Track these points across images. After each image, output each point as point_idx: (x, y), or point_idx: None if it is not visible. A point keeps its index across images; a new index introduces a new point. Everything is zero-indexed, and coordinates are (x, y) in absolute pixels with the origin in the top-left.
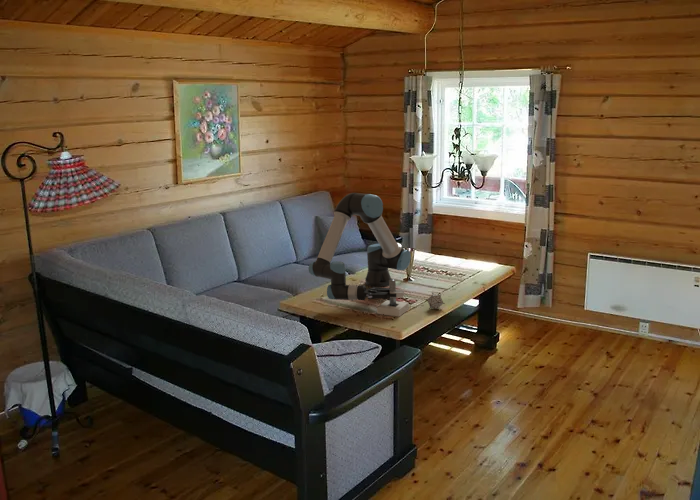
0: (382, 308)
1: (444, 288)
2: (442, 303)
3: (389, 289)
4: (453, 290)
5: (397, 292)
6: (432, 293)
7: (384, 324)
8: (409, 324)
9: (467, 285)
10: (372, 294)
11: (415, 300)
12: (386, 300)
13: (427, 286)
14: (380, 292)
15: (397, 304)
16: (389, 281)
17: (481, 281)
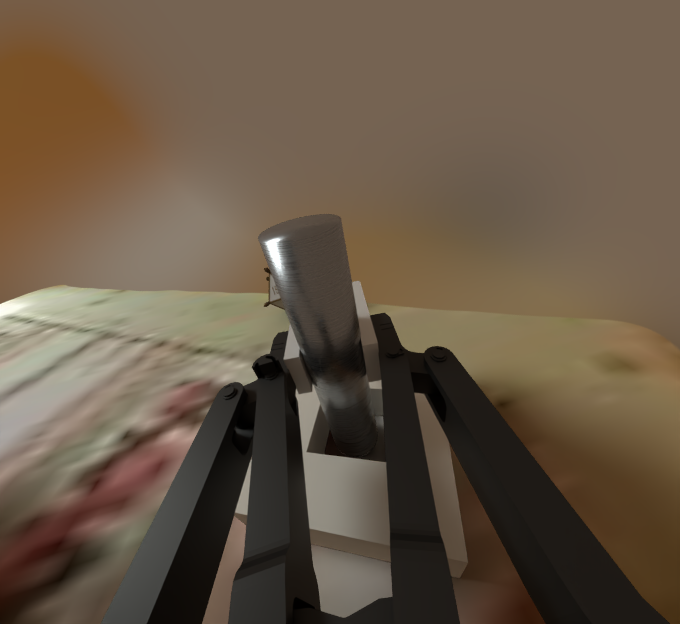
0: (455, 486)
1: (90, 341)
2: None
3: (340, 340)
4: (130, 319)
5: (365, 301)
6: (269, 270)
7: (640, 421)
8: (509, 321)
9: (107, 308)
10: (650, 608)
11: (182, 386)
12: (238, 510)
13: (9, 395)
14: (415, 445)
15: None
16: (325, 244)
17: (97, 296)
